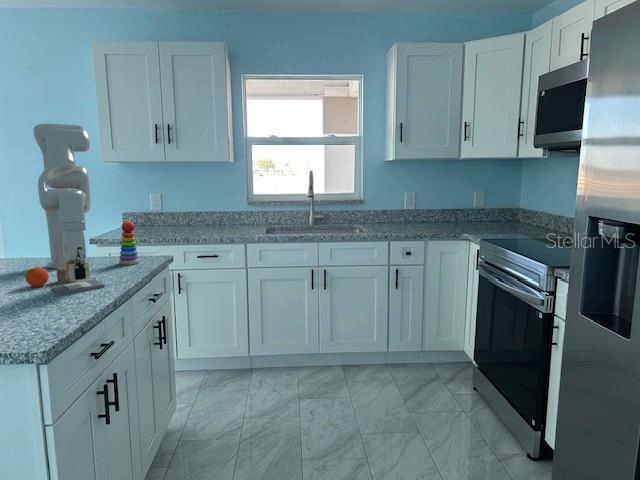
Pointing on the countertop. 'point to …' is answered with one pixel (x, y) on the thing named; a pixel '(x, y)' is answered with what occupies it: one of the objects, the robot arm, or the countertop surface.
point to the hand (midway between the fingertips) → (77, 276)
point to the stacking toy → (128, 245)
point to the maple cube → (71, 271)
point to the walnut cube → (62, 276)
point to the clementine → (36, 276)
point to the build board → (77, 287)
